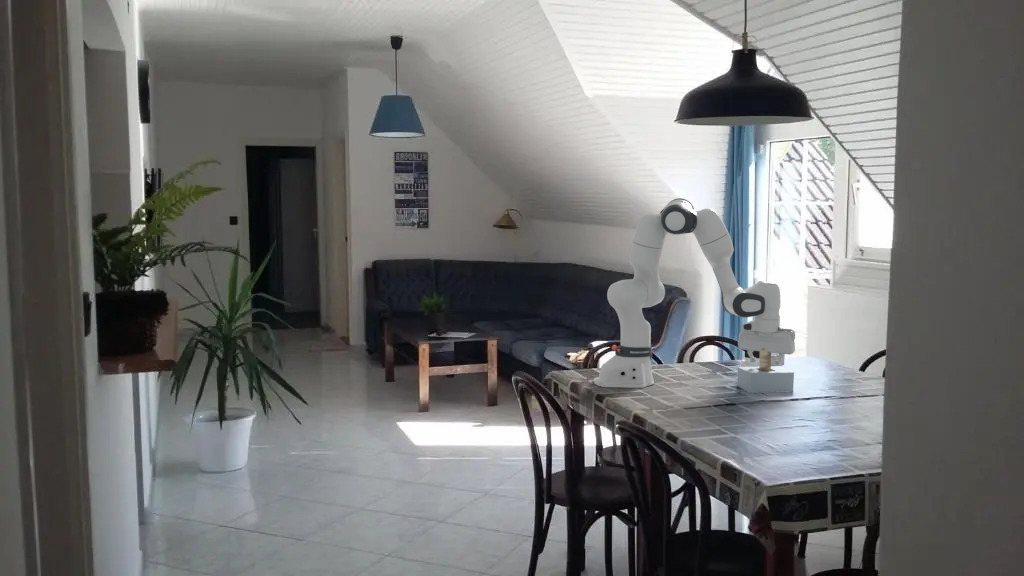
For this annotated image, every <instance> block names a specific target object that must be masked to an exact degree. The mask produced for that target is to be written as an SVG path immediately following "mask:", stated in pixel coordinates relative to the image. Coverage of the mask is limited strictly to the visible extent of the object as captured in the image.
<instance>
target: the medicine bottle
mask: <svg viewBox="0 0 1024 576" xmlns="http://www.w3.org/2000/svg"><path fill="white" fill-rule="evenodd" d="M747 352H748V350H744V359H741V360H740V367H759V359H760V351H753V353H752V354H753V356H754V357H755V358H756V362H755V363H751V362H750V357H749V355H748V353H747Z"/></svg>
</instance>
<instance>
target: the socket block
mask: <svg viewBox="0 0 1024 576" xmlns="http://www.w3.org/2000/svg"><path fill="white" fill-rule="evenodd" d="M794 378H795V372H794V371H792V370H789V369H788V368H785V367H782V366H771V371H759V367H741V366H737V379H736V383H737V385H736V386H737V387H739V388H740V389H742V390H744V391H745V392H748V393H751V394H756V393H757V394H758V393H759V394H761V393H762V394H763V393H764V394H765V393H766V394H767V393H790V392H791V393H792V392H794V385H795V384H794V382H795V381H794V380H795V379H794Z"/></svg>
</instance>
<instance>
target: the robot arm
mask: <svg viewBox="0 0 1024 576" xmlns="http://www.w3.org/2000/svg"><path fill="white" fill-rule="evenodd" d="M667 234H671V235H685V234H693V235H694V236H695V239H696V240H697V242H698V245H699V247H700V250H701V252H702V253H703V255H704V257H705V258H706V260H707V261H708V264H709V265H710V266H711V268H712V271H713V273H714V276H715V279H716V281H717V283H718V286H719V287H720V289H719V290H720V292H721V305H722V308H723V310H724V311H725V312H727V314H730V315H733V316H736V317H739V318H745V319H746V318H751V317H754V318H753V319H754V320H751V321H748V322H744V323H742V324H741V325H740V332H739V334H738V338H737V339H738V340H737V347H738V348H739V350H743V351H745V350H748V352H747V353H748V355H749V357H750V362H751V363H755V362H756V358H755V357H754V356H753V354H752V353H753V351H761V350H762V348H765V351H766V352H771V353H779V357H780V358H779V360H777V361H776V364H775V365H776V366H780V367H782V366H781V361H782V359H783V358H784V356H785V355H787V356H788V355H793V354H794V353H795V351H796V346H795V345H796V343H795V339H796V332H795V330H793V329H792V328H790V327H786V328H785V327H781V326H780V325H781V324H780V323H781V319H780V318H781V317H780V310H781V292H780V291H781V289H780V287H779V285H778V284H777V283H774V282H771V281H766V280H759V281H757V282H756V283H755V284H753V285H751V286H749V287H748V288H744V289H743V288H742V287H741V286H740V285H739V284H738V282H737V278H736V277H735V274H734V272H733V269H732V265H731V258H732V256H733V254H734V251H735V248H734V245H733V241H732V236H731V235H730V232H729V231H728V229H727V227H726V225H725V223H724V221H723V220H722V218H721V216H720V215H719V213H717V211H716V210H715V209H713V208H703V209H700V210H695V208H694V206H693V204H692V203H691V202H690V201H689V200H687V199H686V198H681V197H680V198H674V199H672V200H671V201H669V202H668V203H667V204H666V205H665V206H664V207H663V209H662V210H660V212H659V213H646V214H643V215H642V216H641V217H640V219H639V221H638V224H637V226H636V229H635V232H634V235H633V238H632V243H631V247H630V253H629V257H628V262H629V264H630V266H631V267H632V268H633V271H634V273H633V278H630V279H621V280H618V281H616V282H613V283H612V284H610V286H609V287H608V289H607V294H606V297H607V301H608V303H609V305H610V306H611V307H612V308H613V309H614V310H615V312H616V314H617V317H618V320H619V325H620V344H619V345H618V346H617V345H616V344H613V345H612V346H611V349H612V351H614V353H615V355H614V356H612V357H611V358H610V359H608V360H607V361H605V362H604V363H602V365H601V367H600V370H599V375H598V377H597V376H596V377H594V378H593V384H595V385H596V386H597V387H598V386H599V387H602V388H631V389H632V388H635V389H636V388H637V389H638V388H639V389H643V388H646V387H648V386H652V385H654V384H655V381H654V376H653V371H652V363H651V362H652V357H653V348H652V344H651V343H652V342H651V339H652V337H651V333H652V327H651V324H650V322H649V321H648V320H646V318H645V316H644V313H643V308H651V307H654V306H656V305H658V304H660V303H662V301H664V298H665V295H666V290H665V289H666V288H665V286H664V283H662V281H661V279H660V274H659V271H660V270H659V269H660V268H659V267H660V261H661V256H662V252H663V248H664V242H665V239H666V236H667Z"/></svg>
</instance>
